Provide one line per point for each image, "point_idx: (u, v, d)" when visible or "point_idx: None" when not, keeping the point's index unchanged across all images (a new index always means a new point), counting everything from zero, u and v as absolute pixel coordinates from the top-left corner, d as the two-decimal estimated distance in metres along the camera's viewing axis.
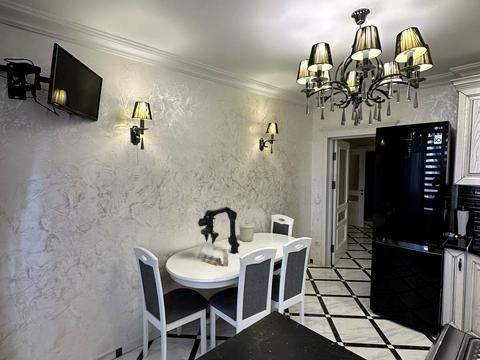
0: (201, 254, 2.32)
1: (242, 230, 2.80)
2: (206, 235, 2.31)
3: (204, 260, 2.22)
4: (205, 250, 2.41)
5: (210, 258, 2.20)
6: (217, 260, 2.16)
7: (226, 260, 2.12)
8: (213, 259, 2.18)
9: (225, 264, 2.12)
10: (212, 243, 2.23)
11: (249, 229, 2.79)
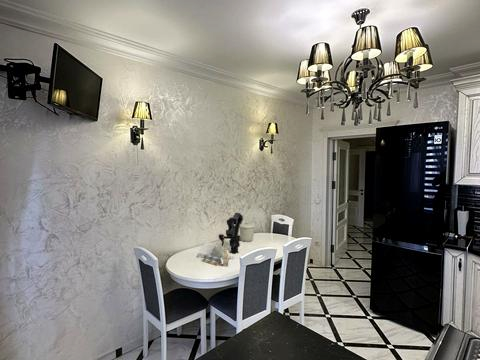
0: (200, 254, 2.32)
1: (242, 230, 2.80)
2: (223, 240, 2.26)
3: (204, 260, 2.22)
4: (204, 250, 2.41)
5: (210, 258, 2.20)
6: (217, 260, 2.16)
7: (226, 260, 2.12)
8: (213, 259, 2.18)
9: (225, 264, 2.12)
10: (233, 246, 2.20)
11: (249, 229, 2.79)
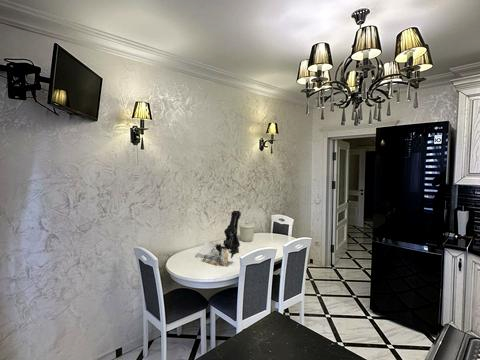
0: (198, 254, 2.32)
1: (242, 230, 2.80)
2: (220, 251, 2.17)
3: (204, 260, 2.22)
4: (203, 250, 2.41)
5: (210, 258, 2.20)
6: (217, 260, 2.16)
7: (226, 260, 2.12)
8: (213, 259, 2.18)
9: (225, 264, 2.12)
10: (231, 257, 2.12)
11: (249, 229, 2.79)
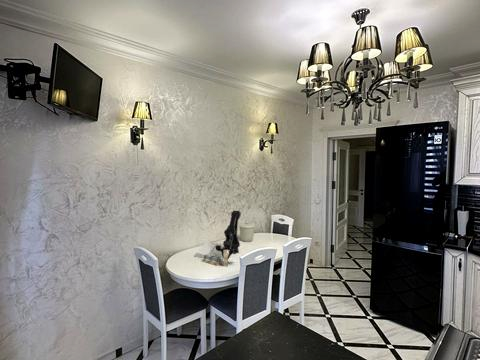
0: (198, 254, 2.33)
1: (242, 230, 2.80)
2: None
3: (204, 260, 2.22)
4: (203, 250, 2.42)
5: (210, 258, 2.20)
6: (217, 260, 2.16)
7: (226, 260, 2.12)
8: (213, 259, 2.18)
9: (225, 264, 2.12)
10: (228, 257, 2.12)
11: (249, 229, 2.79)
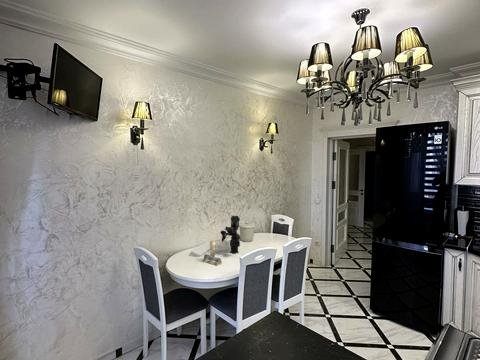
0: (192, 252, 2.36)
1: (242, 230, 2.80)
2: (224, 236, 2.37)
3: (204, 260, 2.22)
4: (199, 249, 2.44)
5: (210, 258, 2.20)
6: (217, 260, 2.16)
7: (211, 251, 2.18)
8: (213, 259, 2.18)
9: (211, 255, 2.19)
10: (230, 243, 2.29)
11: (249, 229, 2.79)
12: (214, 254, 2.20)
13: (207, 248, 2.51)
